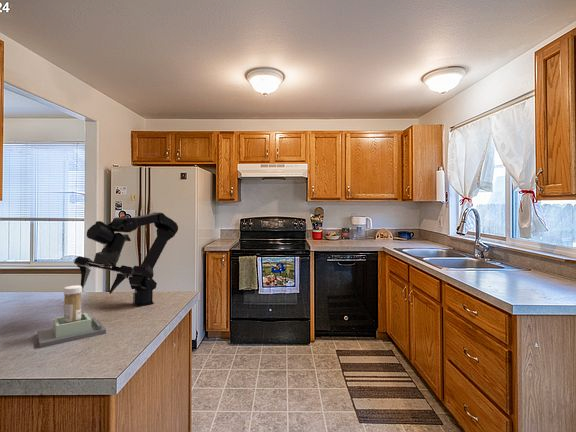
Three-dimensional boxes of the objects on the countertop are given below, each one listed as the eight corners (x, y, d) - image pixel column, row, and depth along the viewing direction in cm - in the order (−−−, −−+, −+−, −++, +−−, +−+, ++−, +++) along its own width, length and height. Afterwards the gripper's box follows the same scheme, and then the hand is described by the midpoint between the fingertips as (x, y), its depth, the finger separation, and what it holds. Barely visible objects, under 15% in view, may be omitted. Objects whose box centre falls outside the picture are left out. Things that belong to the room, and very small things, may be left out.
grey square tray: (97, 323, 103) (98, 309, 103) (106, 333, 94) (106, 318, 94) (37, 334, 92) (37, 319, 92) (39, 347, 83) (40, 330, 83)
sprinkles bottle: (83, 329, 94) (84, 286, 94) (66, 334, 90) (67, 289, 90) (77, 326, 96) (78, 284, 96) (60, 330, 93) (61, 286, 93)
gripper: (78, 236, 103) (57, 281, 96) (136, 249, 107) (119, 293, 100) (88, 244, 113) (69, 286, 106) (140, 256, 117) (125, 297, 110)
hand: (95, 290), depth 106 cm, fingers open, 9 cm apart
